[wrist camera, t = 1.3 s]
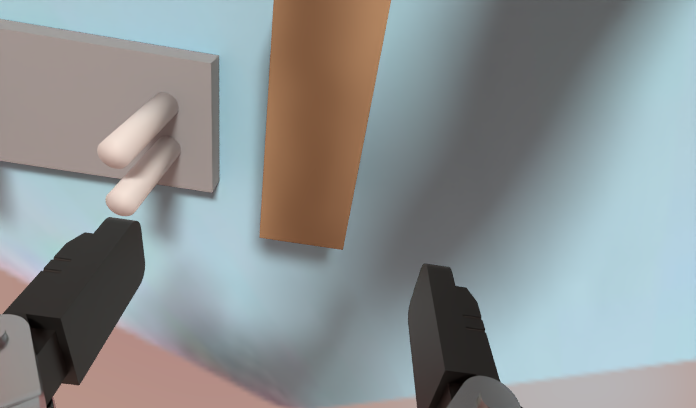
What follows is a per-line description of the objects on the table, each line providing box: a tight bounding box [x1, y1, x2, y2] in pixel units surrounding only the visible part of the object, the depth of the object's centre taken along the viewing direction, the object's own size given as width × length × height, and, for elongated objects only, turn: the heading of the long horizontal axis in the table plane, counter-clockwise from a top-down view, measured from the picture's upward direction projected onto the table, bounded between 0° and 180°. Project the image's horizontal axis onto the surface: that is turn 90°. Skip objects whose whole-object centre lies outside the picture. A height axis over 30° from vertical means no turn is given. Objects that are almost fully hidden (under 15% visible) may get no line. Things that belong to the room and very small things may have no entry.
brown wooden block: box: [260, 0, 391, 250], centre depth 23 cm, size 4×13×6 cm, turn 171°
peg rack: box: [0, 19, 219, 216], centre depth 23 cm, size 16×8×8 cm, turn 81°
